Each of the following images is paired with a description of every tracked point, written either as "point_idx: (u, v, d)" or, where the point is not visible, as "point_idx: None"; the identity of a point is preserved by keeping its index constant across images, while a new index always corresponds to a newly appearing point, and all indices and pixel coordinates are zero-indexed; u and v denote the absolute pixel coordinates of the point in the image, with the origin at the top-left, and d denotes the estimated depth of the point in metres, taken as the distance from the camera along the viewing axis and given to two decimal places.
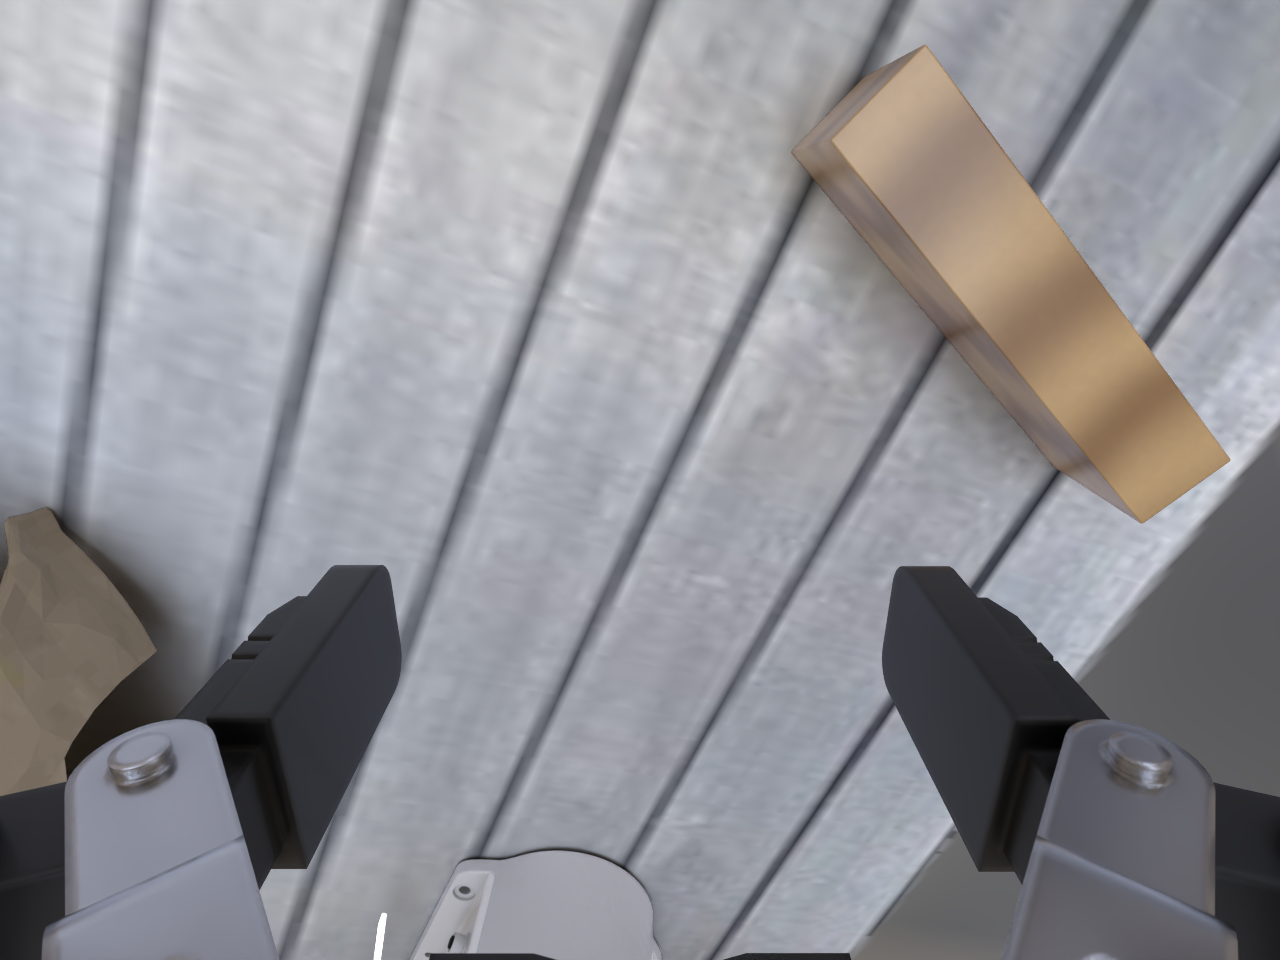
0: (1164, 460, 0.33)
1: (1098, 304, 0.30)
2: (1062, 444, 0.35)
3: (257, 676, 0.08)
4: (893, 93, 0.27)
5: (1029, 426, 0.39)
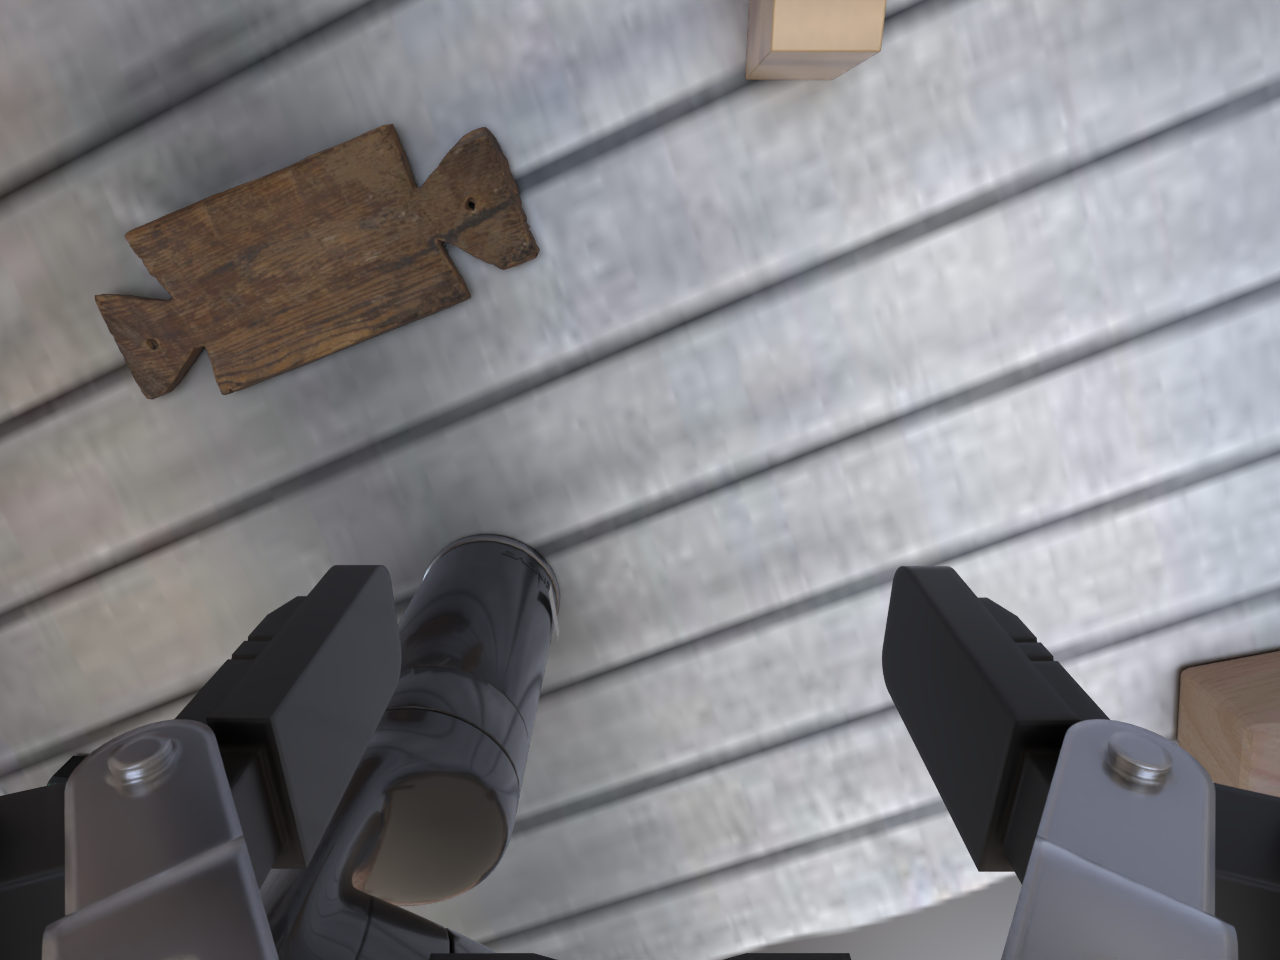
0: None
1: None
2: None
3: (257, 676, 0.08)
4: (816, 39, 0.30)
5: None
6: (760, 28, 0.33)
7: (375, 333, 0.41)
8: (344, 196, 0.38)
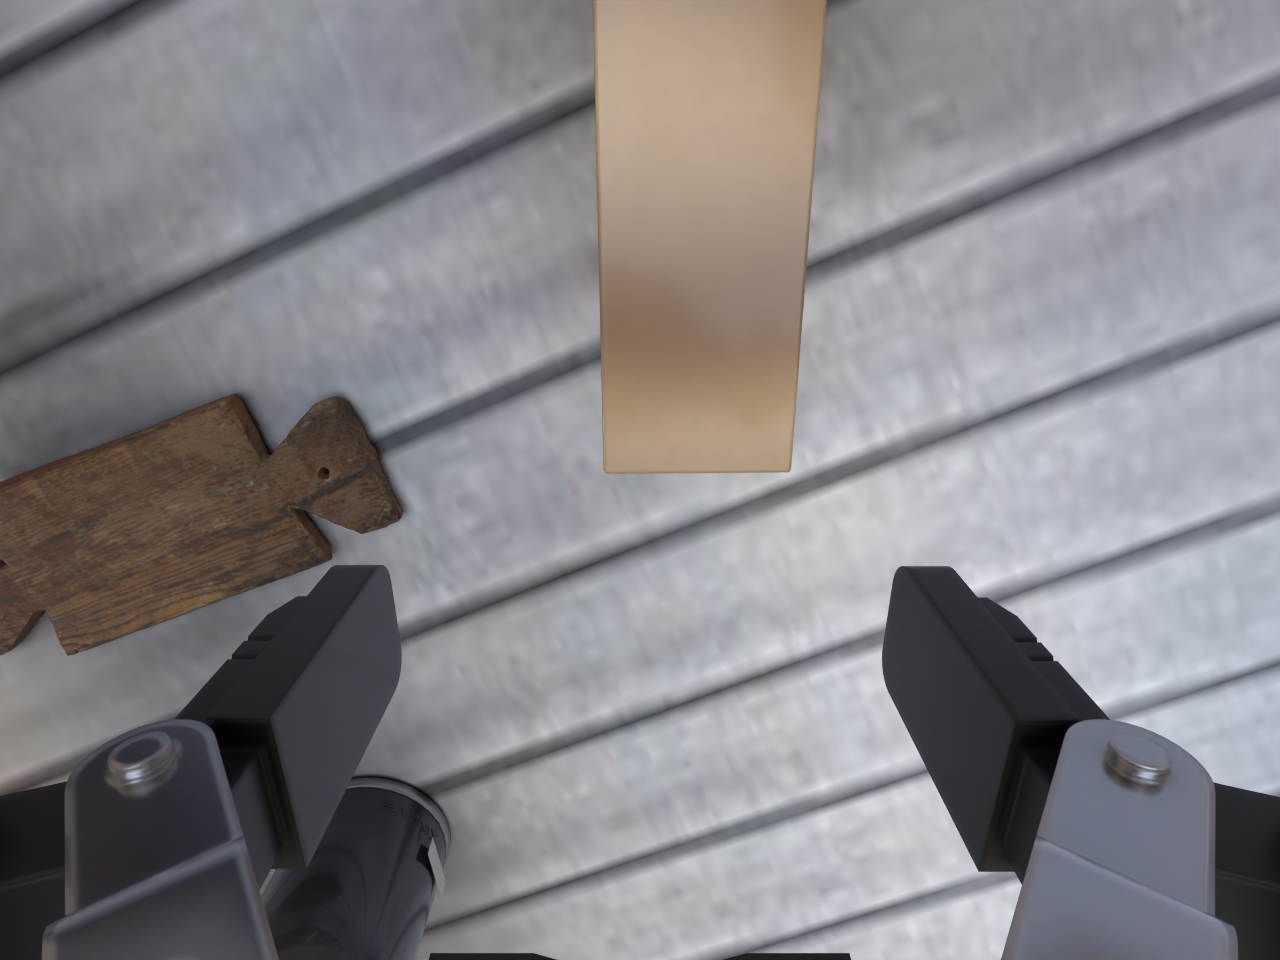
0: None
1: None
2: None
3: (257, 676, 0.08)
4: (680, 457, 0.18)
5: None
6: None
7: (230, 595, 0.38)
8: (185, 468, 0.35)
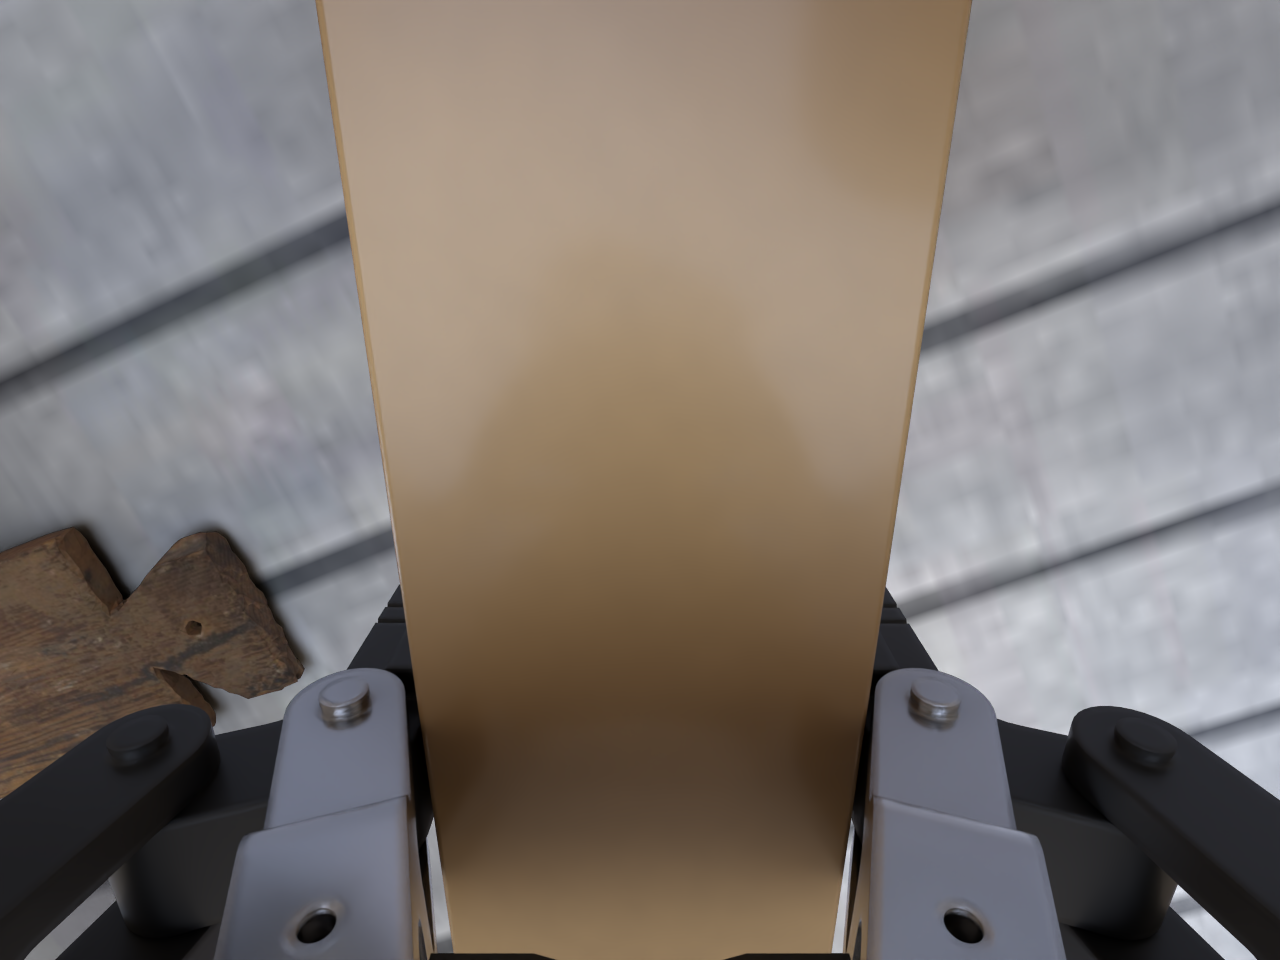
0: None
1: None
2: None
3: None
4: (606, 959, 0.09)
5: None
6: None
7: None
8: (11, 622, 0.27)
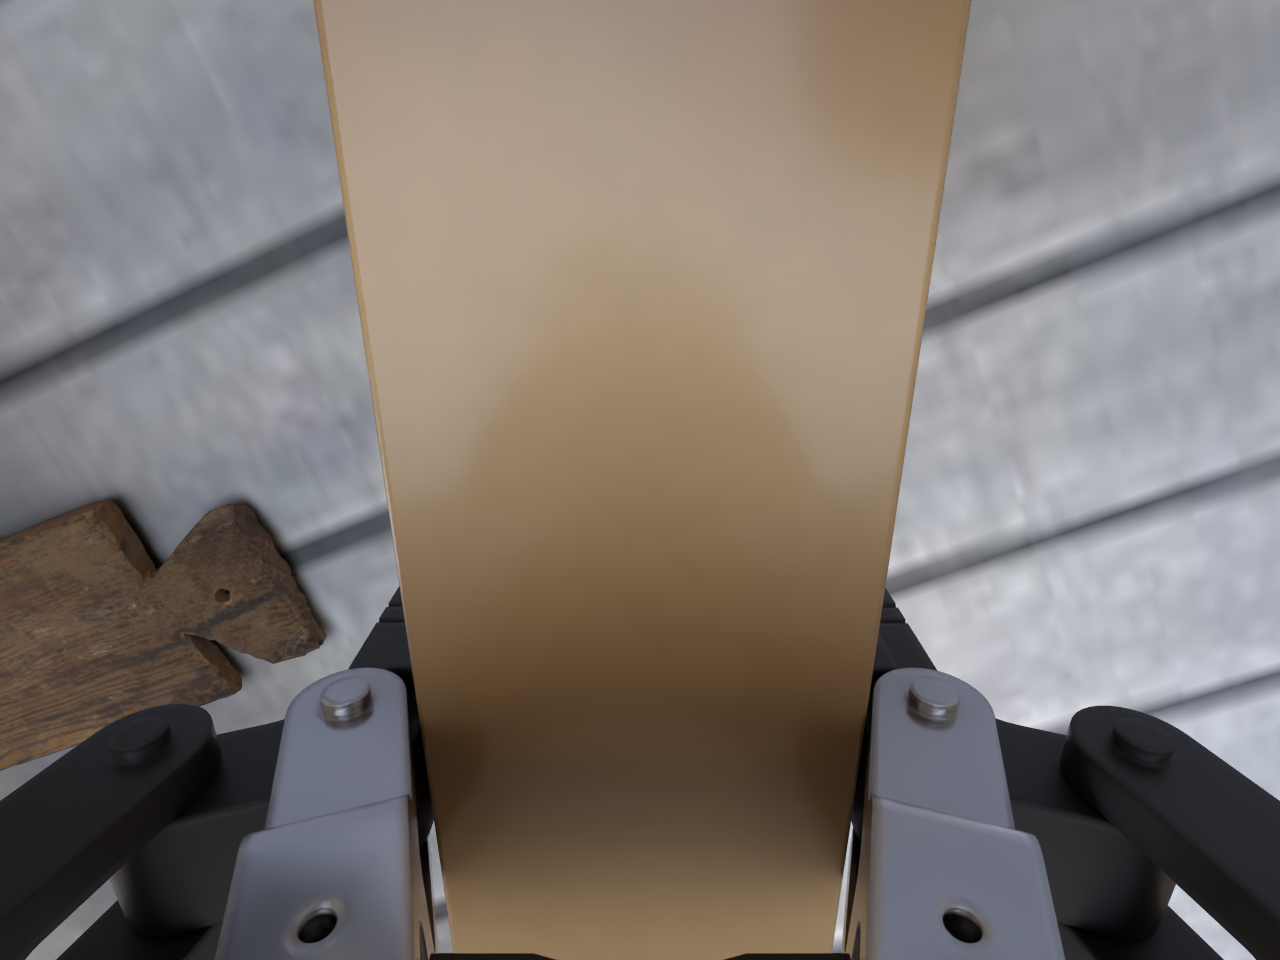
0: None
1: None
2: None
3: None
4: None
5: None
6: None
7: None
8: (50, 588, 0.28)
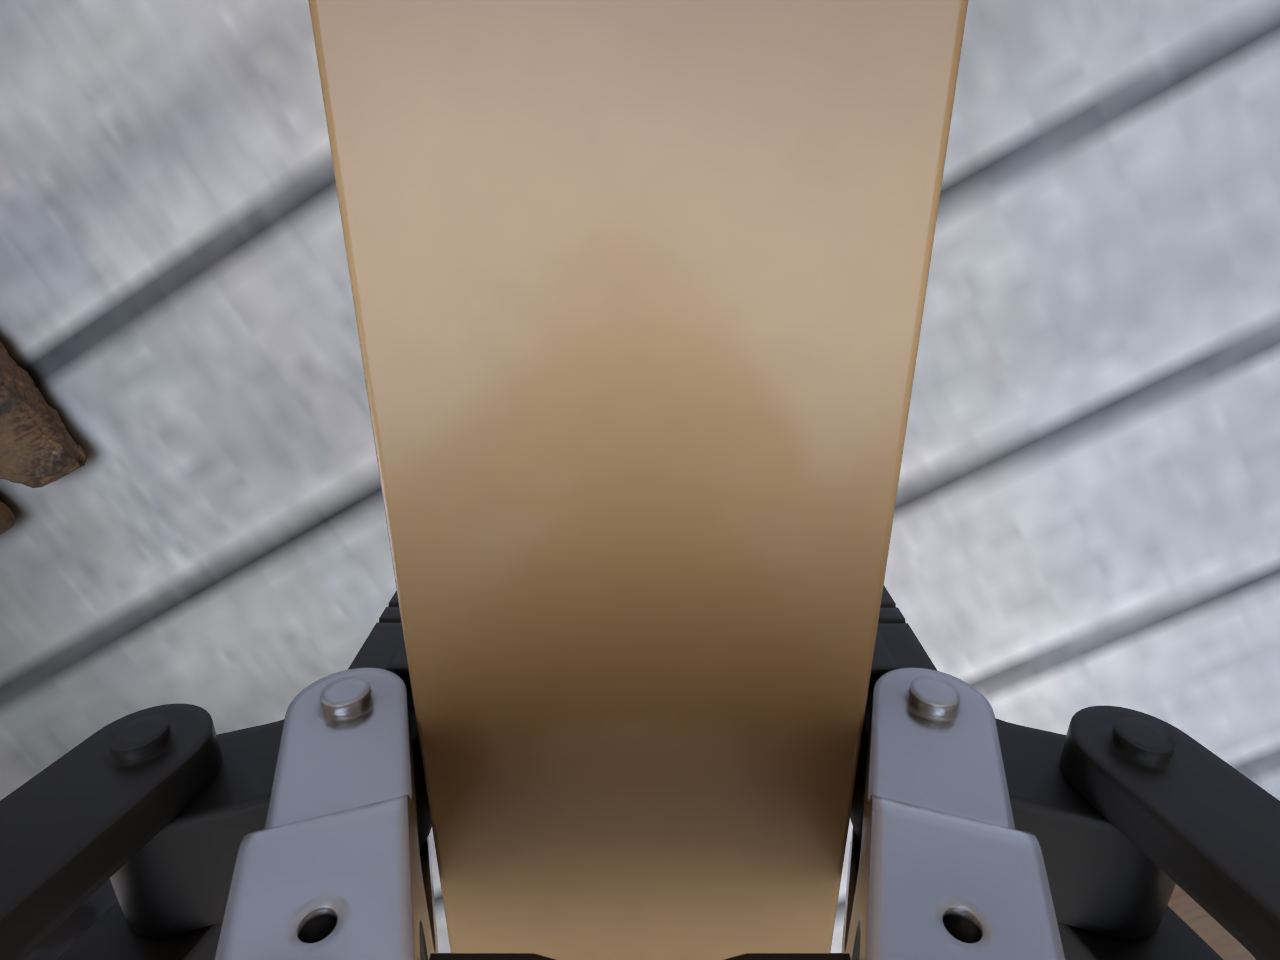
0: None
1: None
2: None
3: None
4: None
5: None
6: None
7: None
8: None
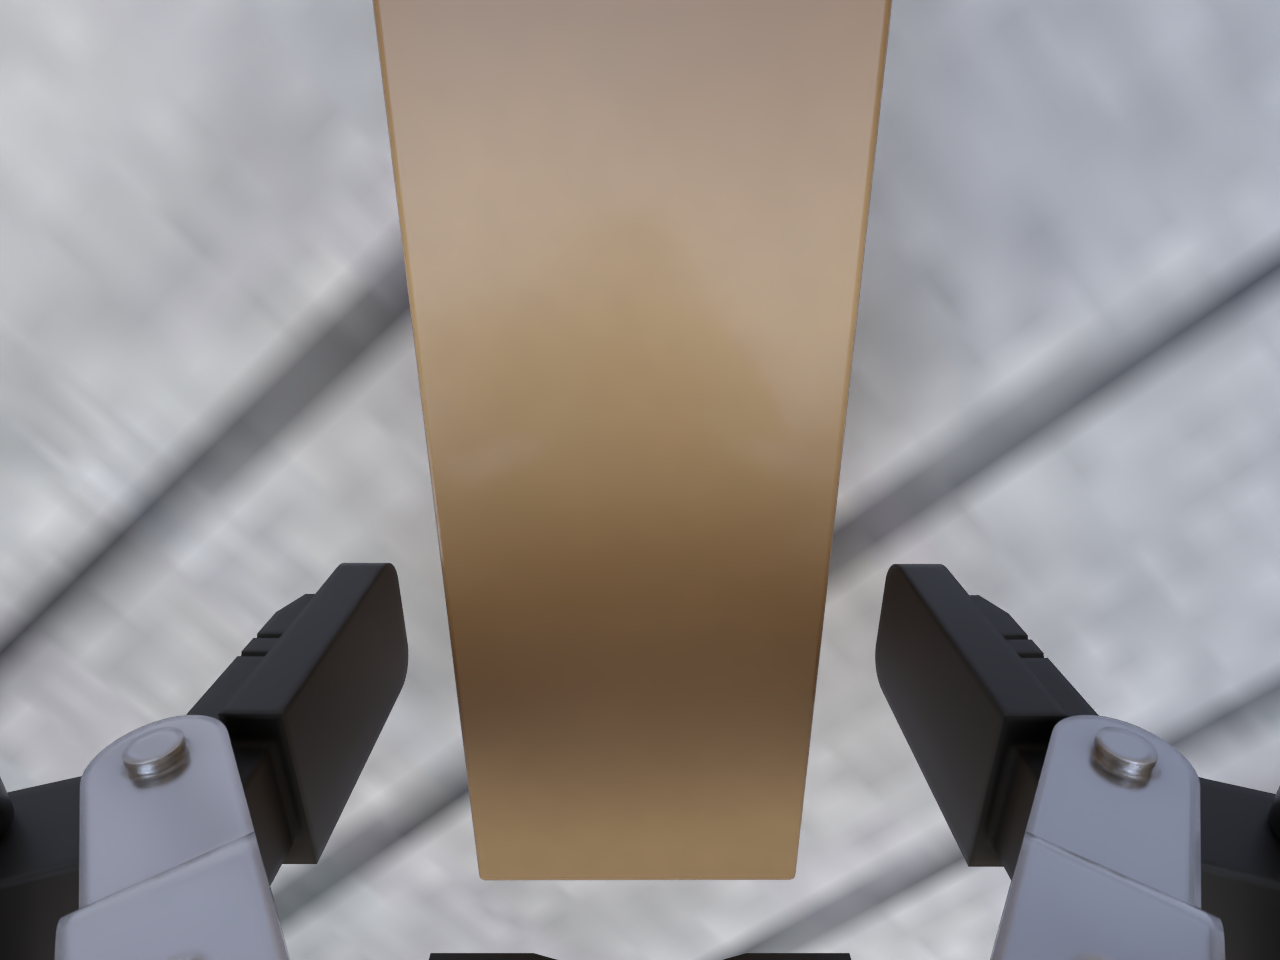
0: None
1: None
2: None
3: (268, 672, 0.08)
4: (606, 860, 0.10)
5: None
6: None
7: None
8: None
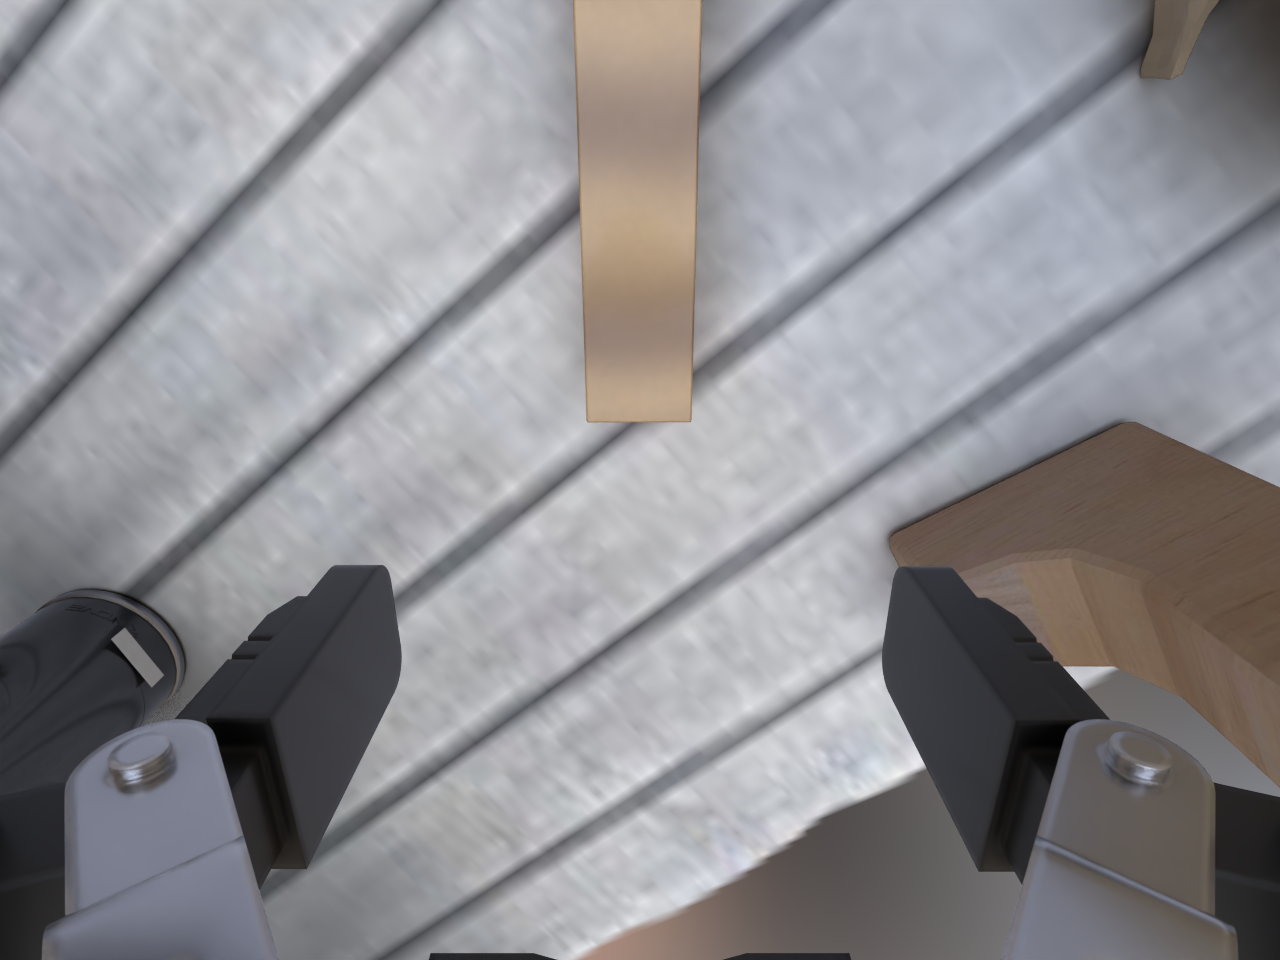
0: None
1: (591, 91, 0.27)
2: None
3: (257, 676, 0.08)
4: (629, 413, 0.32)
5: None
6: None
7: None
8: None
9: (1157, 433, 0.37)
